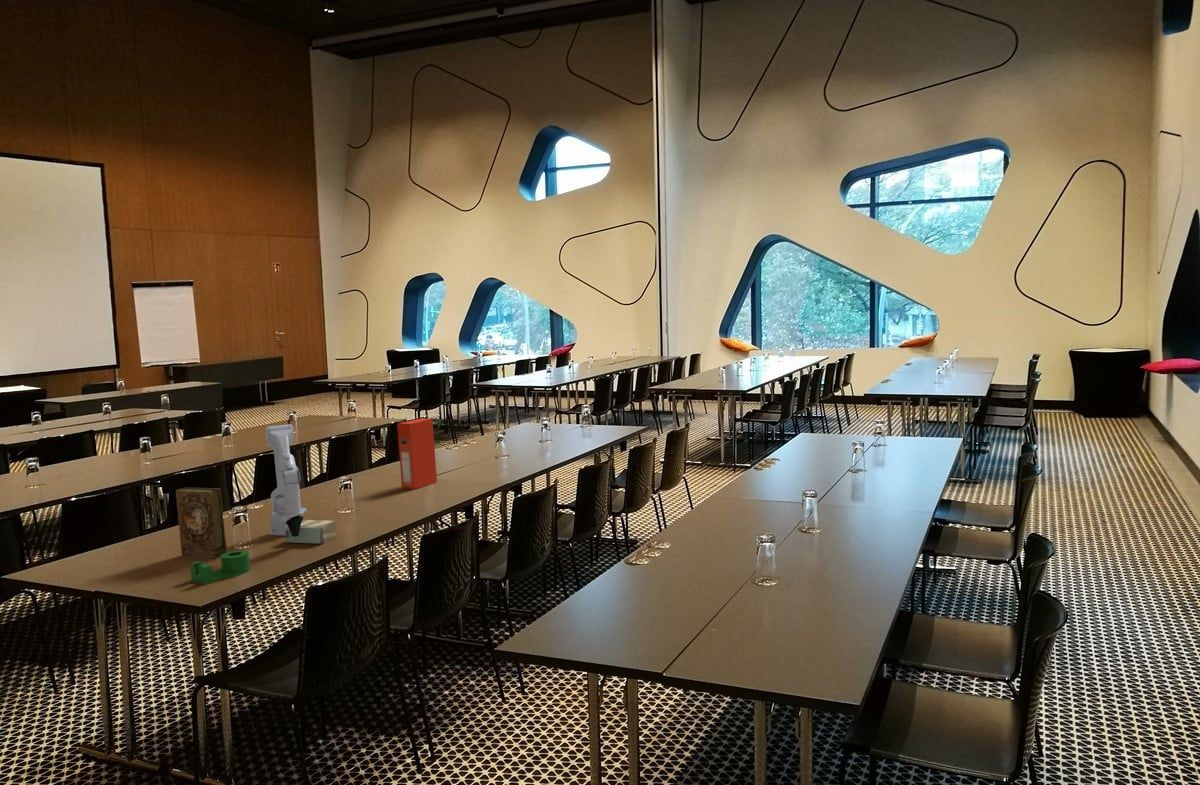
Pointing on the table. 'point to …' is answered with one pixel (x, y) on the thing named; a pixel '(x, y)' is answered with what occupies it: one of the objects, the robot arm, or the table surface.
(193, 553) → the book
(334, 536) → the cabinet
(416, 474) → the file binder
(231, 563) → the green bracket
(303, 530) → the door
